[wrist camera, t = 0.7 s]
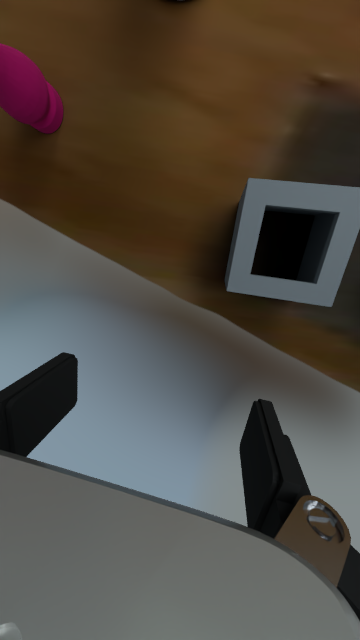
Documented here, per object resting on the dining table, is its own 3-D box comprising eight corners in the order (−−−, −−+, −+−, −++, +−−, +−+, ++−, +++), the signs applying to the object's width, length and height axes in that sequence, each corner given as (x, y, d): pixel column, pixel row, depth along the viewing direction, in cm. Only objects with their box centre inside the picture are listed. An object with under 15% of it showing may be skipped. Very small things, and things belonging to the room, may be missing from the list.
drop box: (239, 201, 33) (248, 178, 22) (322, 210, 31) (373, 188, 21) (224, 280, 37) (226, 291, 26) (298, 291, 35) (331, 306, 25)
